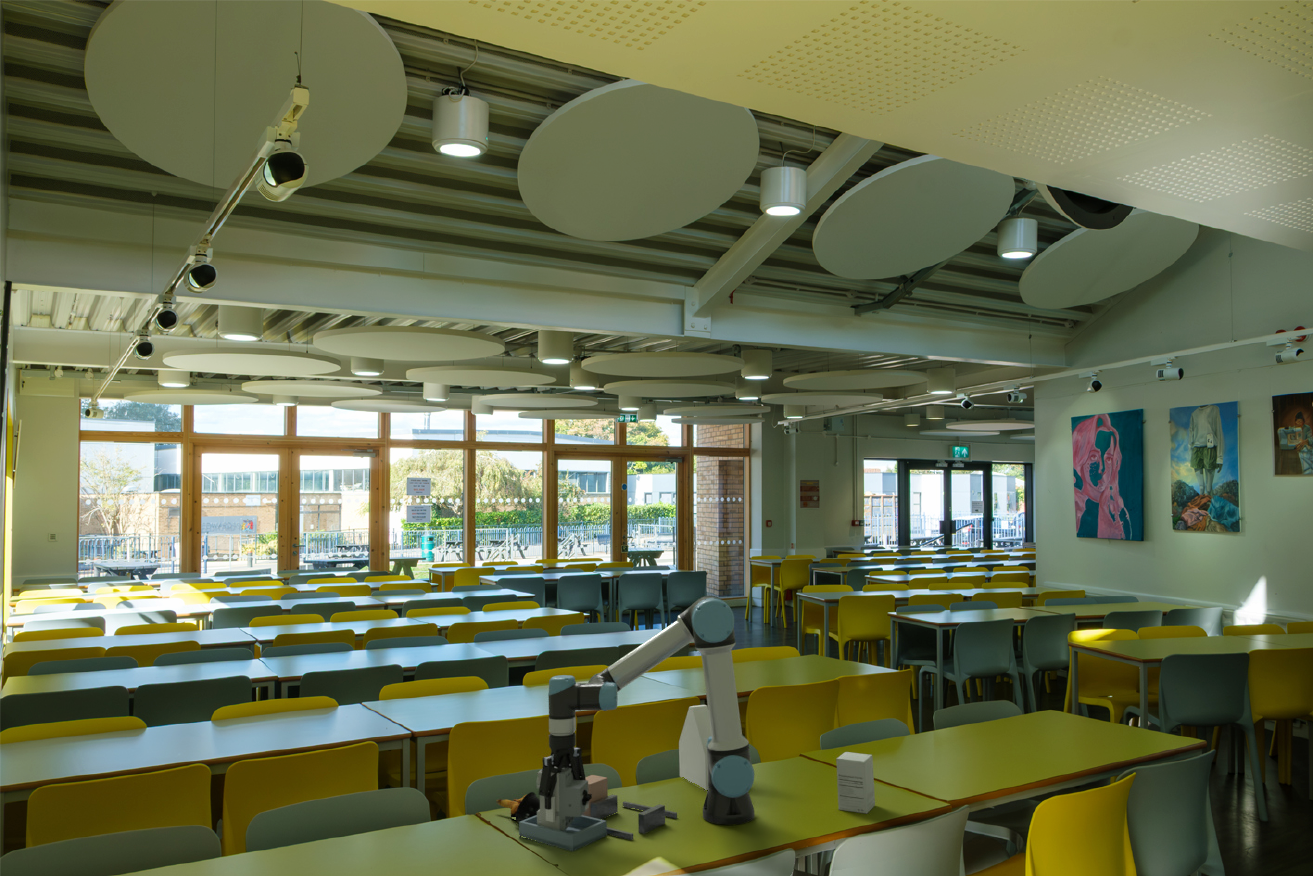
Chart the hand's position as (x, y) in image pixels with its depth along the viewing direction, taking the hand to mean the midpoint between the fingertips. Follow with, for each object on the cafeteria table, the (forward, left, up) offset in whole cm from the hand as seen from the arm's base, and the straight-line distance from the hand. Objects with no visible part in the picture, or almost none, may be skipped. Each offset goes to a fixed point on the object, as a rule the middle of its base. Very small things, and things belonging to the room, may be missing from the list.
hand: (563, 815), depth 236 cm
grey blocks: (-8, -19, -5) cm, 21 cm away
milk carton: (-6, -68, -6) cm, 68 cm away
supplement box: (-58, -67, -6) cm, 89 cm away
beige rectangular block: (+6, -19, -6) cm, 21 cm away
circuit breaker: (-1, 0, -3) cm, 3 cm away
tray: (0, 0, -5) cm, 5 cm away
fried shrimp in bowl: (+21, -4, -6) cm, 22 cm away
